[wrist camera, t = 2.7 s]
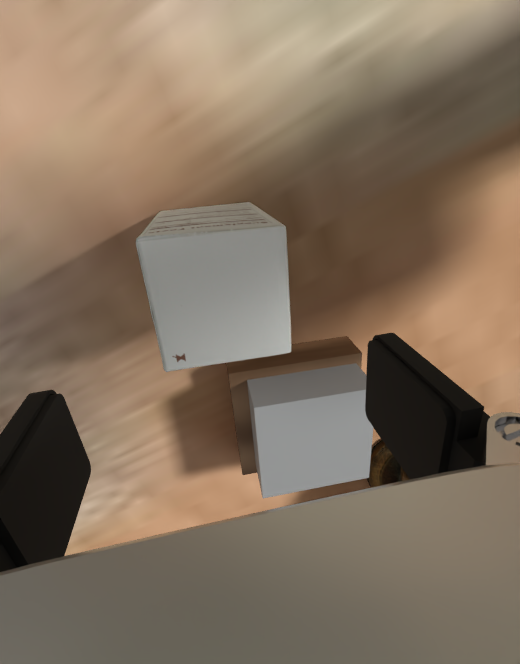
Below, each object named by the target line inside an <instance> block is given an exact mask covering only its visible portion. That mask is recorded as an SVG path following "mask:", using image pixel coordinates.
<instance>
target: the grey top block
mask: <svg viewBox="0 0 520 664" xmlns="http://www.w3.org/2000/svg"><path fill="white" fill-rule="evenodd" d="M366 378H367V376H366V374H365V373H364V372H363V371H362V370H361V368H360V367H359V366H358V365H357V363H355V364H348V365H342V366H335V367H329V368H322V369H316V370H309V371H303V372H296V373H290V374H283V375H277V376H270V377H264V378H257V379H251V380H247V385H248V394H249V404H250V413H251V423H252V433H253V442H254V452H255V462H256V468H257V473H258V478H259V482H260V487H261V492H262V497H263V498H267V497H273V496H278V495H283V494H288V493H293V492H298V491H303V490H308V489H314V488H319V487H324V486H329V485H334V484H339V483H344V482H349V481H355V480H360V479H365V478H369V472H370V460H371V448H372V436H373V426H372V425H371V423H370V422H369V420H368V418H367V416H366V412H365V400H366Z"/></svg>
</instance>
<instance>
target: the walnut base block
mask: <svg viewBox="0 0 520 664" xmlns="http://www.w3.org/2000/svg"><path fill="white" fill-rule="evenodd" d="M361 361H362V353H361V351H360V350H359V349H358V348H357V347H356V346H355V345H354V343H353V342H352V341H351V340H350V339H349V338H348V337H347V336H345V337H338V338H332V339H325V340H318V341H312V342H305V343H299V344H292V345H291V352H290V353H285V354H280V355H274V356H267V357H260V358H254V359H247V360H241V361H234V362H227V370H228V377H229V384H230V391H231V399H232V406H233V413H234V420H235V427H236V434H237V441H238V448H239V455H240V461H241V468H242V474H243V475H246V474H251V473H256V472H257V468H256V462H255V452H254V442H253V433H252V423H251V413H250V404H249V394H248V385H247V380H251V379H257V378H264V377H270V376H277V375H283V374H290V373H296V372H303V371H309V370H316V369H322V368H329V367H335V366H342V365H348V364H355V363H357V365H358V366H359V367H360V368H361Z"/></svg>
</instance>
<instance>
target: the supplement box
mask: <svg viewBox="0 0 520 664" xmlns="http://www.w3.org/2000/svg"><path fill="white" fill-rule="evenodd" d="M136 247H137V251H138V256H139V260H140V265H141V269H142V273H143V278H144V282H145V286H146V291H147V295H148V300H149V304H150V310H151V315H152V319H153V322H154V326H155V330H156V335H157V339H158V344H159V348H160V353H161V357H162V362H163V367H164V370H165V371H166V372H169V371H175V370H181V369H187V368H194V367H200V366H207V365H214V364H221V363H227V362H234V361H241V360H247V359H254V358H260V357H267V356H274V355H280V354H285V353H290V352H291V319H290V295H289V273H288V252H287V236H286V226H285V225H283V224H282V223H280V222H279V221H277V220H276V219H274V218H273V217H271V216H270V215H268V214H267V213H265V212H264V211H262V210H261V209H260V208H258V207H257V206H255V205H254V204H252V203H251V202H244V203H234V204H224V205H214V206H204V207H194V208H184V209H175V210H165V211H160V212H159V213H158V214H157V215H156V216H155V217H154V219H153V220H152V221H151V222H150V223H149V225H148V226H147V227H146V228H145V230H144V231H143V232H142V233H141V235H140V236H139V237H137V239H136Z"/></svg>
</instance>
